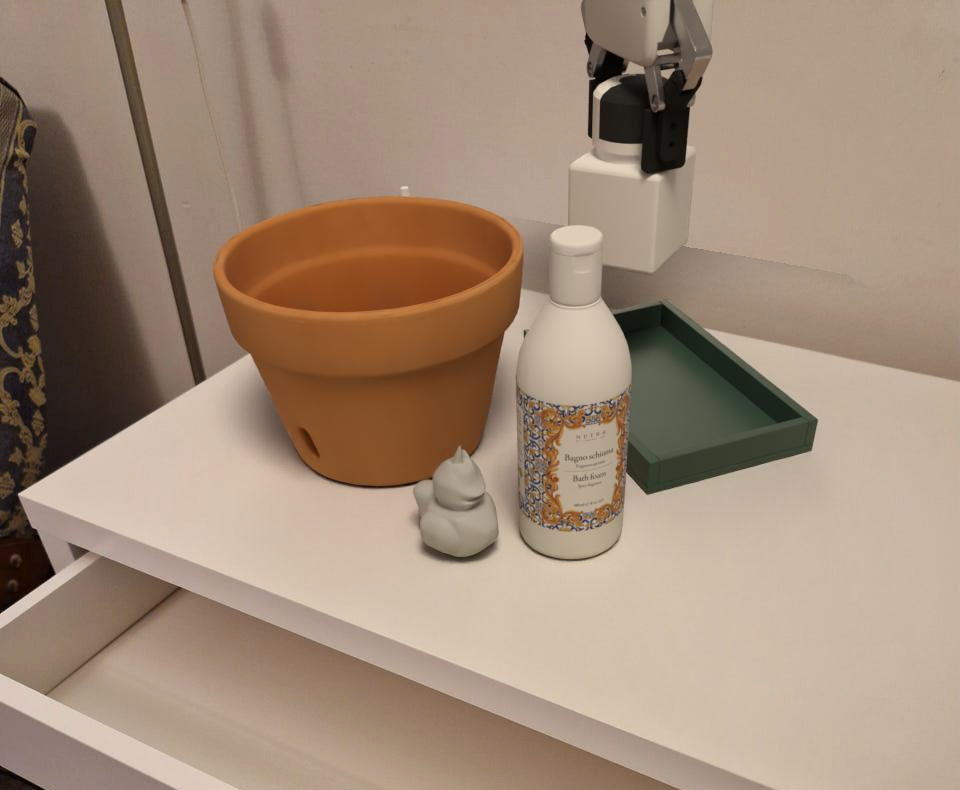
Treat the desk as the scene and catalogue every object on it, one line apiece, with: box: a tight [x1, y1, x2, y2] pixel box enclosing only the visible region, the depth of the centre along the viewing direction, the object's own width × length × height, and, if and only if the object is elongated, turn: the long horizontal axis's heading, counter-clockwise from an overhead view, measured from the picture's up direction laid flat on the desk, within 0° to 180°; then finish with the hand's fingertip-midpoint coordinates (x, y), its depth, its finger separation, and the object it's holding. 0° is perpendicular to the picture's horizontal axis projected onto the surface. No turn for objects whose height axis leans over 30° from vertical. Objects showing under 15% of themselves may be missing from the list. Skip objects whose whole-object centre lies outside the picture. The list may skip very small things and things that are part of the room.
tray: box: [523, 298, 819, 495], centre depth 79 cm, size 14×23×3 cm, turn 21°
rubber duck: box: [412, 446, 500, 558], centre depth 65 cm, size 5×7×8 cm
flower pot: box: [212, 195, 525, 487], centre depth 73 cm, size 21×21×15 cm
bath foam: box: [515, 225, 632, 560], centre depth 61 cm, size 7×7×20 cm
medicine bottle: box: [567, 73, 697, 276], centre depth 74 cm, size 7×7×12 cm
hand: (634, 150), depth 73 cm, fingers closed on medicine bottle, 7 cm apart
